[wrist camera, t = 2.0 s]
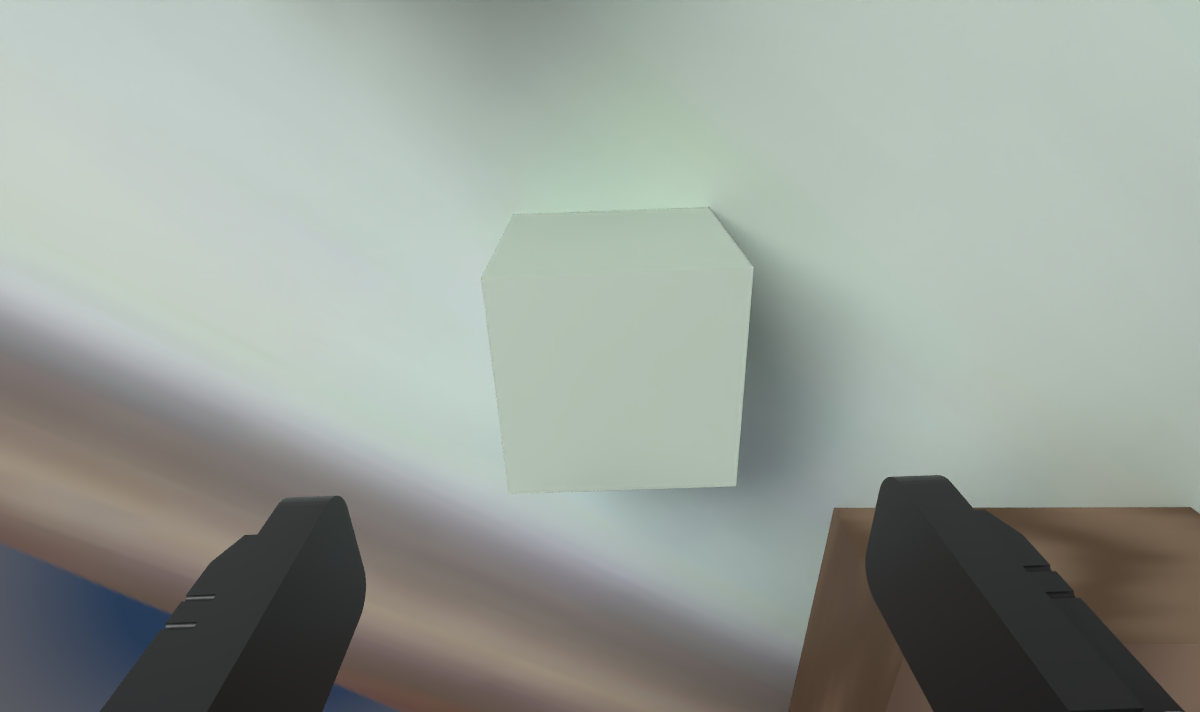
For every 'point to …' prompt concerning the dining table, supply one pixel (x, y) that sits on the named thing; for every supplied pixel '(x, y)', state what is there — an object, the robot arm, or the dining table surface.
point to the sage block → (618, 349)
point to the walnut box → (1072, 548)
